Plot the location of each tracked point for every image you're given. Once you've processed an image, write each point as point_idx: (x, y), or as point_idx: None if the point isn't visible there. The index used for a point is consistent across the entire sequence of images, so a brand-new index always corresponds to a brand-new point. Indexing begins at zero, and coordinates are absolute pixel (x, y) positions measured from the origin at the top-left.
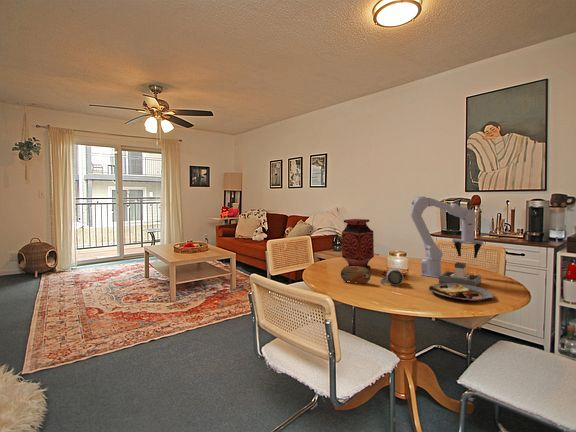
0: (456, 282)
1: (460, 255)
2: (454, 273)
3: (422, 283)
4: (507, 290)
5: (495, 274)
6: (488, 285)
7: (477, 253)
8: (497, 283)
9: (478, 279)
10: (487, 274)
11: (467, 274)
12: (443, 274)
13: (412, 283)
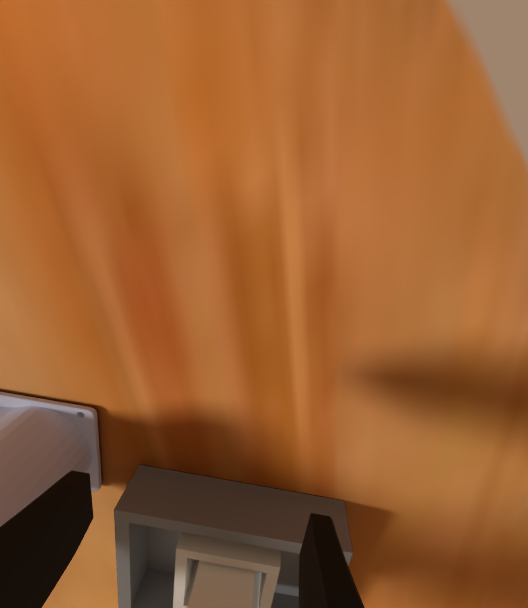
0: None
1: (83, 491)
2: (181, 559)
3: (85, 593)
4: (471, 576)
5: (490, 149)
6: (383, 527)
7: (360, 604)
8: (444, 468)
9: None
10: (407, 197)
11: (261, 544)
12: (130, 588)
13: (51, 605)
